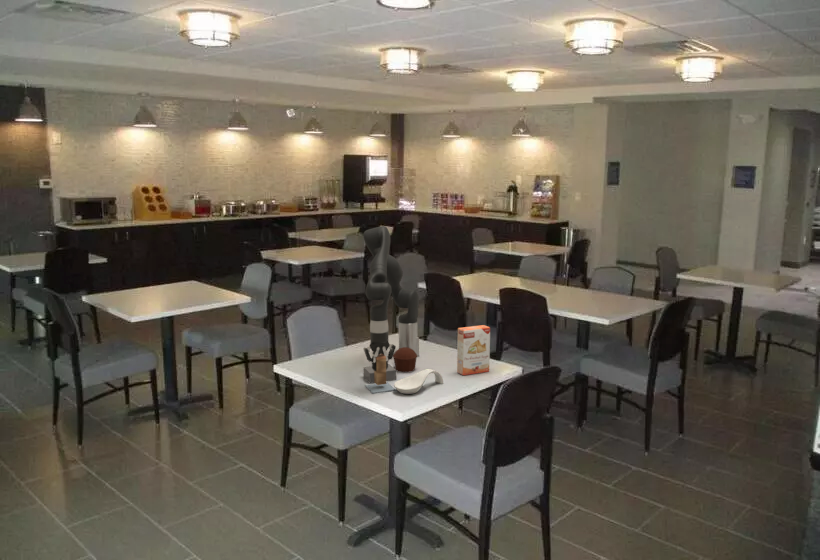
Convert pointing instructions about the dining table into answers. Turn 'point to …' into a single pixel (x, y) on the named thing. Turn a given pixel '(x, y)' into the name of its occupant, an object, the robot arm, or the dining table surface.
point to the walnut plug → (380, 370)
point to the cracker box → (473, 350)
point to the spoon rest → (416, 381)
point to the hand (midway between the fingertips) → (380, 369)
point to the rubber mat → (380, 388)
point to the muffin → (405, 359)
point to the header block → (369, 373)
